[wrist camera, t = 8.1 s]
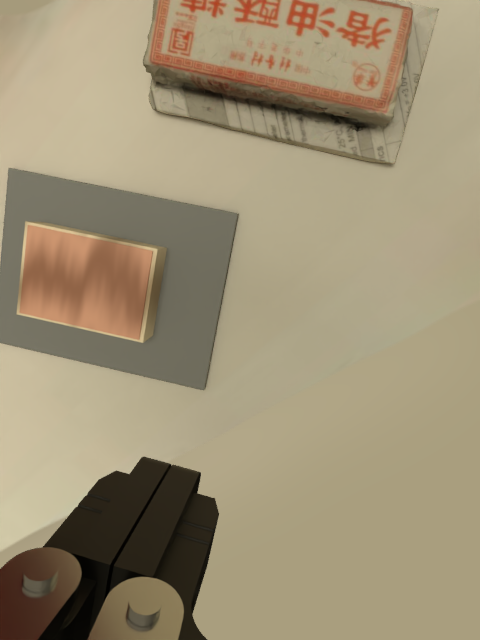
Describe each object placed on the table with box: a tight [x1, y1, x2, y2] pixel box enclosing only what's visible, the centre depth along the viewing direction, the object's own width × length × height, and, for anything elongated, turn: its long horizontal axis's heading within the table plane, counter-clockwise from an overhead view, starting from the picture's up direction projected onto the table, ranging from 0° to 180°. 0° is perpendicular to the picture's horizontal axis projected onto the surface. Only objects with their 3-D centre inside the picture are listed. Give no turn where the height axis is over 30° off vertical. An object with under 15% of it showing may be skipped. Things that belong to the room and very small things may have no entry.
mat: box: [0, 168, 238, 390], centre depth 36 cm, size 14×18×1 cm
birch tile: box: [17, 221, 167, 343], centre depth 35 cm, size 7×3×10 cm
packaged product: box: [143, 0, 439, 164], centre depth 30 cm, size 18×5×10 cm
